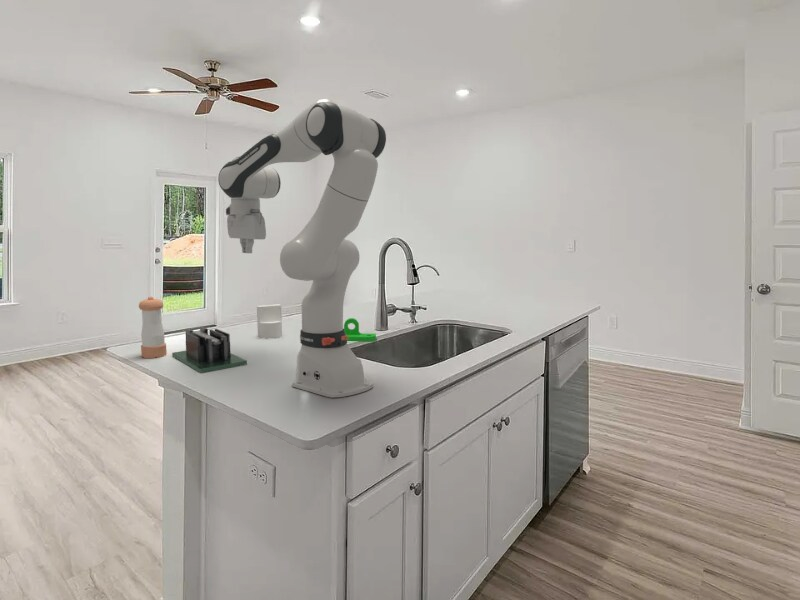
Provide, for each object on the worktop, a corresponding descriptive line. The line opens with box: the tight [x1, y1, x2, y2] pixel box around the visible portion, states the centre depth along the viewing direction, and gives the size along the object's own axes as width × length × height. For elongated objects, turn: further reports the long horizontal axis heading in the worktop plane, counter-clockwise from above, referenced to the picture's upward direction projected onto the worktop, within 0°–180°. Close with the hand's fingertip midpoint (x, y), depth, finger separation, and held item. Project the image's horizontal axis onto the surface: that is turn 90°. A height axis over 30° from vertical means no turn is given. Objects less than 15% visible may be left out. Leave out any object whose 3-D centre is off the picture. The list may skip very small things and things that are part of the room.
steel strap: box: [193, 330, 223, 346], centre depth 153 cm, size 18×3×1 cm, turn 43°
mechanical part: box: [343, 317, 377, 343], centre depth 183 cm, size 12×6×8 cm, turn 93°
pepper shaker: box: [138, 296, 168, 359], centre depth 157 cm, size 7×7×19 cm
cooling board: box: [171, 326, 248, 374], centre depth 153 cm, size 24×14×9 cm, turn 43°
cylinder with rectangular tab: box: [256, 303, 283, 339], centre depth 187 cm, size 9×9×12 cm
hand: (247, 253), depth 158 cm, fingers closed
